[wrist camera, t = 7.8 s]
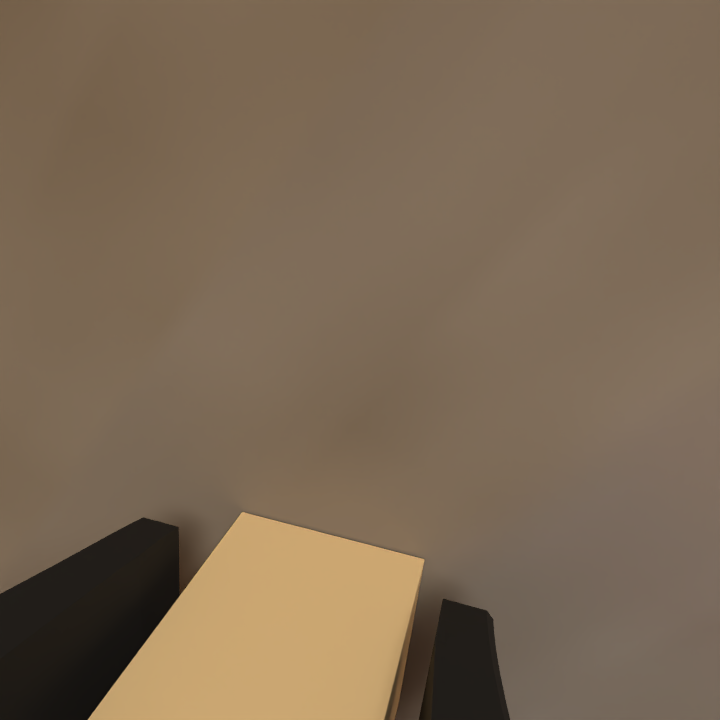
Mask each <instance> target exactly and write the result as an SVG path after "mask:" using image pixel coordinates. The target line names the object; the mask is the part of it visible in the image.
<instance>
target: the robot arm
mask: <svg viewBox="0 0 720 720" xmlns="http://www.w3.org/2000/svg"><path fill="white" fill-rule="evenodd" d="M178 598H179V532H178V527H176V526H173V525H169V524H165V523H161V522H158V521H154V520H150V519H147V518H141V519H139V520H137V521H135V522H133V523H131V524H129V525H127V526H126V527H124V528H122V529H120V530H118V531H116V532H114V533H112V534H111V535H109V536H107V537H105V538H103V539H101V540H100V541H98V542H96V543H94V544H92V545H90V546H89V547H87V548H85V549H83V550H81V551H80V552H78V553H76V554H74V555H72V556H70V557H69V558H67V559H65V560H63V561H61V562H59V563H58V564H56V565H54V566H52V567H50V568H48V569H46V570H44V571H43V572H41V573H39V574H37V575H35V576H33V577H31V578H29V579H28V580H26V581H24V582H22V583H20V584H18V585H16V586H14V587H13V588H11V589H9V590H7V591H5V592H3V593H1V594H0V720H88V719H89V717H90V716H91V715H92V713H93V712H94V711H95V709H96V708H97V706H98V705H99V704H100V702H101V701H102V700H103V698H104V697H105V696H106V694H107V693H108V692H109V690H110V689H111V688H112V686H113V685H114V684H115V682H116V681H117V680H118V678H119V677H120V676H121V674H122V673H123V672H124V670H125V669H126V668H127V666H128V665H129V663H130V662H131V661H132V659H133V658H134V657H135V655H136V654H137V653H138V651H139V650H140V649H141V647H142V646H143V645H144V643H145V642H146V641H147V639H148V638H149V637H150V635H151V634H152V633H153V631H154V630H155V629H156V627H157V626H158V625H159V623H160V622H161V620H162V619H163V618H164V616H165V615H166V614H167V612H168V611H169V610H170V608H171V607H172V606H173V604H174V603H175V602H176V600H177V599H178ZM419 720H510V717H509V713H508V709H507V705H506V700H505V695H504V690H503V686H502V681H501V676H500V671H499V665H498V659H497V653H496V646H495V637H494V627H493V619H492V617H491V616H490V614H489V613H488V612H487V611H486V610H483V609H479V608H475V607H471V606H468V605H464V604H460V603H457V602H453V601H449V600H446V599H443V602H442V607H441V612H440V617H439V622H438V627H437V632H436V637H435V642H434V647H433V652H432V657H431V662H430V667H429V672H428V677H427V682H426V687H425V692H424V697H423V702H422V707H421V712H420V717H419Z"/></svg>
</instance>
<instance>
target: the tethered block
mask: <svg viewBox="0 0 720 720" xmlns="http://www.w3.org/2000/svg"><path fill="white" fill-rule="evenodd" d="M424 560H425V559H421V558H417V557H414V556H410V555H406V554H402V553H398V552H394V551H390V550H387V549H383V548H379V547H375V546H371V545H367V544H363V543H360V542H356V541H352V540H348V539H344V538H340V537H336V536H333V535H329V534H325V533H321V532H317V531H313V530H309V529H306V528H302V527H298V526H294V525H290V524H286V523H282V522H279V521H275V520H271V519H267V518H263V517H259V516H255V515H252V514H248V513H244V512H242V513H241V514H240V516H239V517H238V518H237V520H236V521H235V522H234V524H233V525H232V526H231V528H230V529H229V530H228V532H227V533H226V534H225V536H224V537H223V539H222V540H221V541H220V543H219V544H218V545H217V547H216V548H215V549H214V551H213V552H212V553H211V555H210V556H209V557H208V559H207V560H206V561H205V563H204V564H203V565H202V567H201V568H200V569H199V571H198V572H197V573H196V575H195V576H194V577H193V579H192V580H191V582H190V583H189V584H188V586H187V587H186V588H185V590H184V591H183V592H182V594H181V595H180V596H179V598H178V599H177V600H176V602H175V603H174V604H173V606H172V607H171V608H170V610H169V611H168V612H167V614H166V615H165V616H164V618H163V619H162V620H161V622H160V623H159V625H158V626H157V627H156V629H155V630H154V631H153V633H152V634H151V635H150V637H149V638H148V639H147V641H146V642H145V643H144V645H143V646H142V647H141V649H140V650H139V651H138V653H137V654H136V655H135V657H134V658H133V659H132V661H131V662H130V663H129V665H128V666H127V668H126V669H125V670H124V672H123V673H122V674H121V676H120V677H119V678H118V680H117V681H116V682H115V684H114V685H113V686H112V688H111V689H110V690H109V692H108V693H107V694H106V696H105V697H104V698H103V700H102V701H101V702H100V704H99V705H98V706H97V708H96V709H95V711H94V712H93V713H92V715H91V716H90V717H89V719H88V720H395V716H396V712H397V707H398V703H399V699H400V693H401V688H402V682H403V677H404V671H405V666H406V660H407V655H408V649H409V643H410V638H411V632H412V627H413V621H414V616H415V610H416V604H417V599H418V593H419V588H420V582H421V577H422V571H423V565H424Z"/></svg>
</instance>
